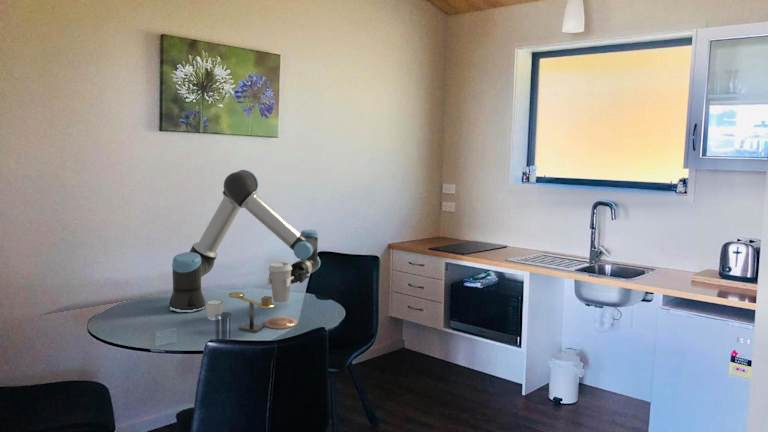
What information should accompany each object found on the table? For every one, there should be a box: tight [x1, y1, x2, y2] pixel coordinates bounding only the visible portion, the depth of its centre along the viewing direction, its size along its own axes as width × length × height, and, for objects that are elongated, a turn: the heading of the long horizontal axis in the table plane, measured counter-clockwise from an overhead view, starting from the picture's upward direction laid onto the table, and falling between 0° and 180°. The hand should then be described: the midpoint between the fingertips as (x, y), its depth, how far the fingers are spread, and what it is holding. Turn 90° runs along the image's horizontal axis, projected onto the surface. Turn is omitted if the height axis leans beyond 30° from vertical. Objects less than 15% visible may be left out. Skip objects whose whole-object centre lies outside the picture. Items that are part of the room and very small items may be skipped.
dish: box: [264, 316, 298, 330], centre depth 253 cm, size 13×13×1 cm
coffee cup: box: [268, 261, 292, 303], centre depth 250 cm, size 10×10×15 cm
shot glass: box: [205, 299, 224, 318], centre depth 256 cm, size 7×7×7 cm
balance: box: [228, 291, 275, 334], centre depth 245 cm, size 19×6×14 cm, turn 75°
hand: (277, 282), depth 246 cm, fingers closed on coffee cup, 7 cm apart
